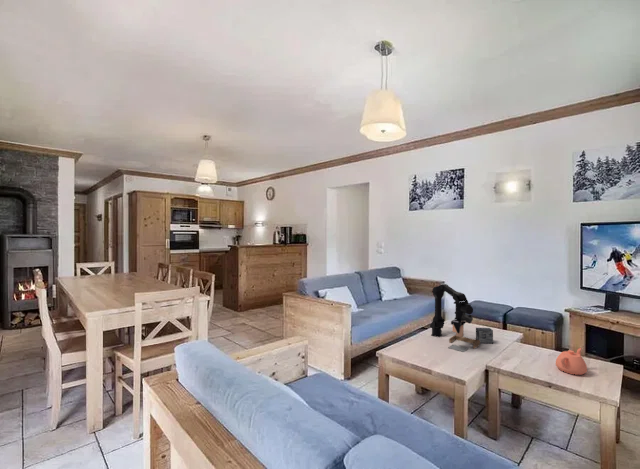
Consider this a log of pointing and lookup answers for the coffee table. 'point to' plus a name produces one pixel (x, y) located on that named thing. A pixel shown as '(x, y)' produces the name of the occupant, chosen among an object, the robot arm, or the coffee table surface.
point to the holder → (465, 340)
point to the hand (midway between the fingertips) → (459, 332)
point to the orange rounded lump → (571, 362)
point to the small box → (484, 335)
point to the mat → (458, 348)
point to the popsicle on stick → (460, 331)
